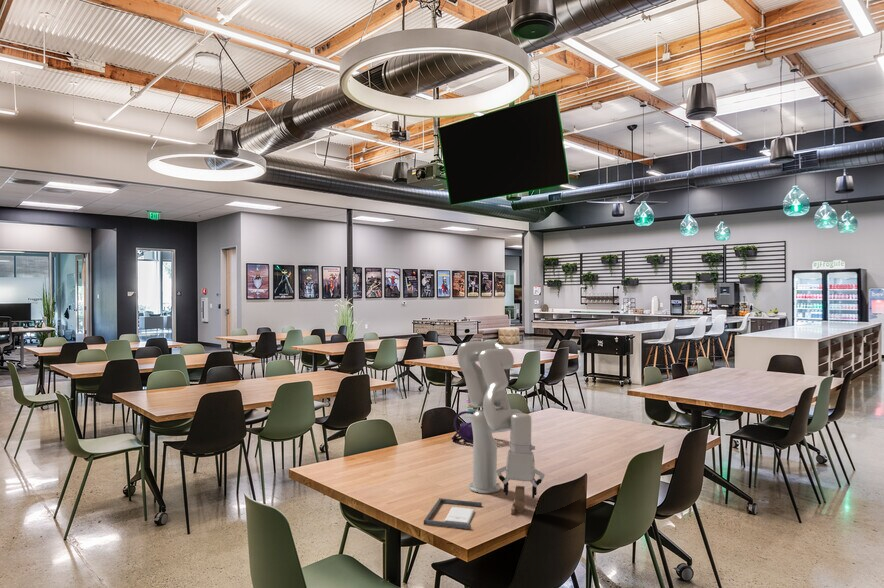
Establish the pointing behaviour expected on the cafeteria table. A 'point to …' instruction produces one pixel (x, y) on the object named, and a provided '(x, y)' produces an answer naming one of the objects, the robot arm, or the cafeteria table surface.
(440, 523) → the bay
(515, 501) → the pusher
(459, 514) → the external hard drive
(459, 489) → the cafeteria table surface
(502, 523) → the cafeteria table surface
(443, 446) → the cafeteria table surface
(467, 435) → the decorative bottle
